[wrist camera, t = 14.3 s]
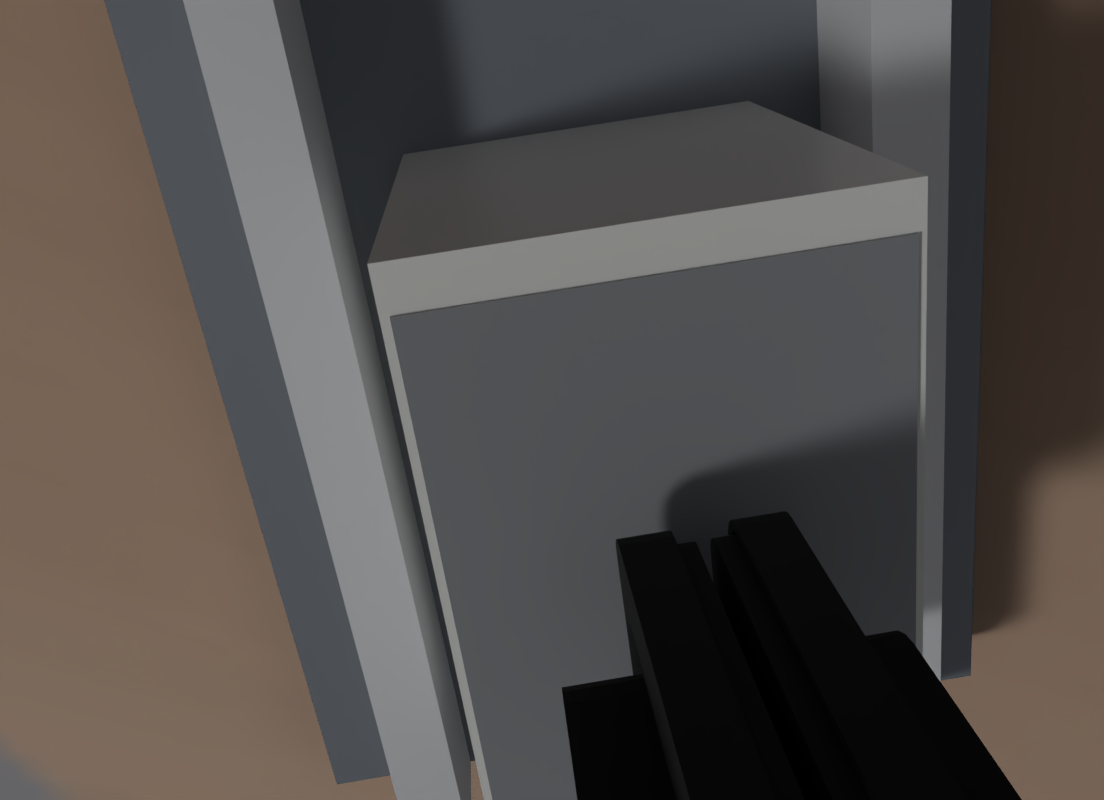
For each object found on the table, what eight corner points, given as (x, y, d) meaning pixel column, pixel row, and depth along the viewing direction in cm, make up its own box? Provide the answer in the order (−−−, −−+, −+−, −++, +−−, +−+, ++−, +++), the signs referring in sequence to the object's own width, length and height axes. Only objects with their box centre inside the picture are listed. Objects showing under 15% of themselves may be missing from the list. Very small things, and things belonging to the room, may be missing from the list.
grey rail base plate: (119, -31, 14) (34, -34, 11) (962, -159, 14) (1083, -194, 11) (343, 746, 19) (323, 872, 17) (946, 642, 20) (1026, 751, 17)
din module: (403, 154, 14) (366, 266, 9) (748, 100, 14) (929, 176, 9) (493, 617, 17) (508, 915, 12) (776, 570, 18) (922, 844, 12)
